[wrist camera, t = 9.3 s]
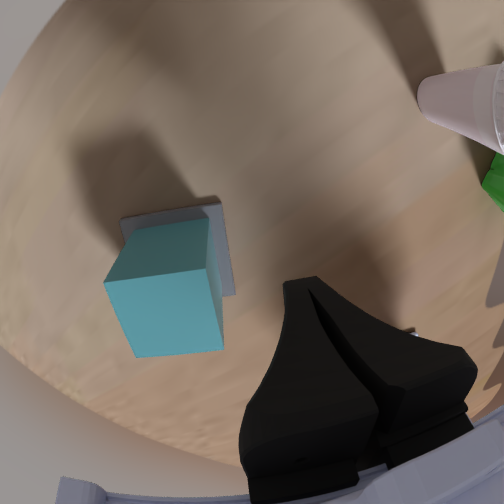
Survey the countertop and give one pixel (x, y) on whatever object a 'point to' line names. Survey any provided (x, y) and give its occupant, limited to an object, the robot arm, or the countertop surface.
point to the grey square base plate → (188, 214)
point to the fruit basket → (495, 180)
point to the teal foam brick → (168, 290)
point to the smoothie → (467, 103)
